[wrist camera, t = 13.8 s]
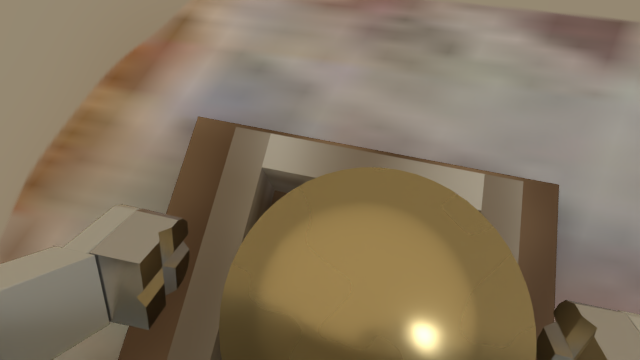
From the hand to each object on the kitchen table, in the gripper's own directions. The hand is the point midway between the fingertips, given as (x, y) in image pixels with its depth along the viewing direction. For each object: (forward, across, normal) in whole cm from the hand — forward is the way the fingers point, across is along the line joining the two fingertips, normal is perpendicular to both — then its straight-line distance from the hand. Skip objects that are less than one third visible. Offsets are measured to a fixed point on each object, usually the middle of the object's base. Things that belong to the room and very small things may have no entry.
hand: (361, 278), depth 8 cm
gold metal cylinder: (+4, 0, +5) cm, 6 cm away
